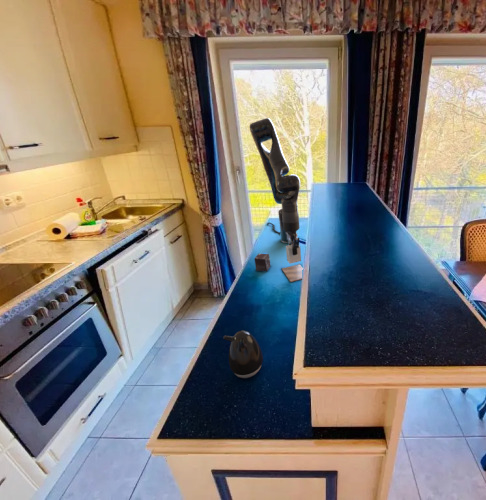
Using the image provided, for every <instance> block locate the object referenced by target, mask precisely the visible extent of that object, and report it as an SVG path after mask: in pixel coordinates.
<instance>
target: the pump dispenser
mask: <svg viewBox="0 0 486 500" xmlns="http://www.w3.org/2000/svg"><path fill="white" fill-rule="evenodd" d="M223 340H225V341H228V342H230V345H229V349H228V365H229V368H230V371H231V372H232V373H233V374H234V375H235V376H237V377H238V378H240V379H241V378H242V379H248V378H251V377H253V376H255V375H257V373H258V372H259V371H260V369H261V367H262V364H263V362H264V354H263V350H262V348H261V346H260V344H259V342H258V341H257V339H256V337H255V336H253V334H252V333H251V332H250V331H247V330H244V329H243V330H239V331H237V332H236V333H235V334H234V335H233V336H231V335H224V336H223Z"/></svg>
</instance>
